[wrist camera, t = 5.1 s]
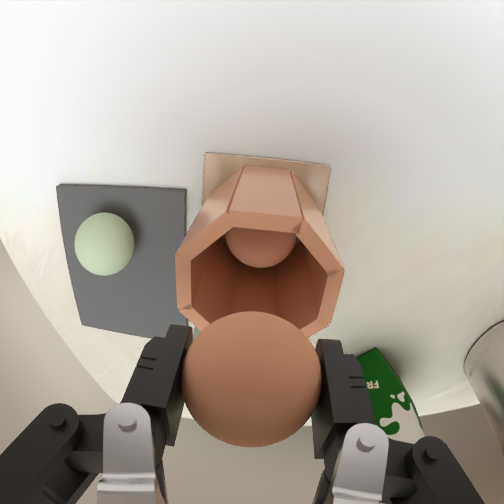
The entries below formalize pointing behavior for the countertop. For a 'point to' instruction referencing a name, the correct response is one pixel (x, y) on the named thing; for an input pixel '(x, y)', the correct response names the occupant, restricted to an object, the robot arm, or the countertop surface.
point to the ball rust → (251, 379)
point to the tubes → (264, 218)
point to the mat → (140, 265)
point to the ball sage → (104, 244)
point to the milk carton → (390, 399)
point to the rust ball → (259, 246)
